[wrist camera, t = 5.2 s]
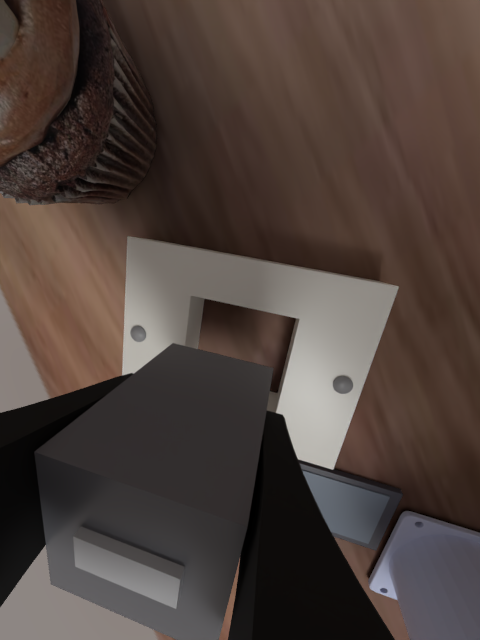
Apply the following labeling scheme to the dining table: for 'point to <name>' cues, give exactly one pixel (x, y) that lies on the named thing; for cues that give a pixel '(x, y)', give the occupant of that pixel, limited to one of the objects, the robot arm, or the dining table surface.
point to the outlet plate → (274, 297)
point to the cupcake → (69, 105)
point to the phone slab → (352, 504)
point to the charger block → (158, 491)
